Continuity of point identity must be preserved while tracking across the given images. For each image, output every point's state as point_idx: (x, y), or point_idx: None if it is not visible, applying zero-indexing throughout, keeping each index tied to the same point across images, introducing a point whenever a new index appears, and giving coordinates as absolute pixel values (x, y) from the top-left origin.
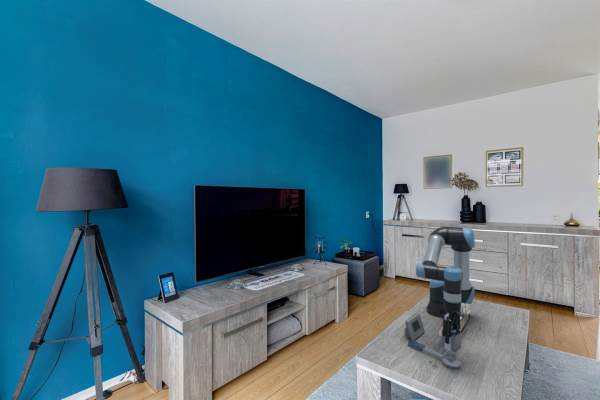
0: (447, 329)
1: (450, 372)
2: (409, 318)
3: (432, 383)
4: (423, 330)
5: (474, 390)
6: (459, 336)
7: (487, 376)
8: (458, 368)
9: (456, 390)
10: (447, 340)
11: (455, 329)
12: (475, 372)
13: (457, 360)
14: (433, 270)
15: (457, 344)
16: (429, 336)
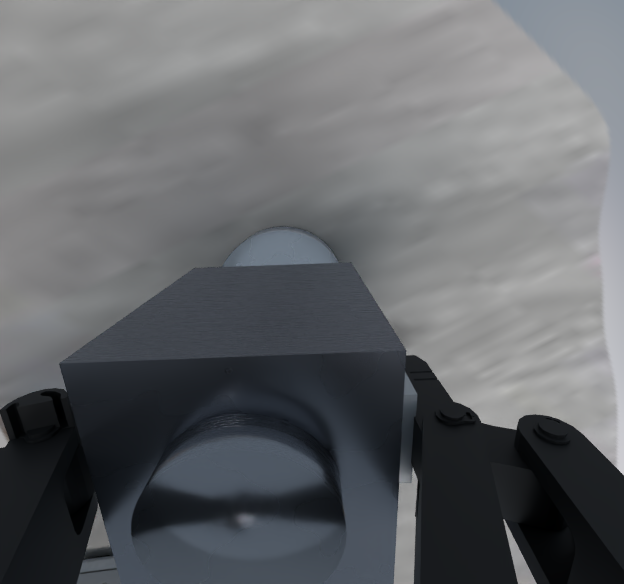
0: None
1: (381, 243)
2: None
3: (585, 255)
4: (87, 573)
5: (458, 34)
6: (200, 327)
7: (199, 43)
8: (297, 228)
9: (550, 122)
10: (441, 391)
11: (160, 488)
12: (229, 130)
13: (255, 260)
14: None
15: (294, 285)
16: (95, 516)
